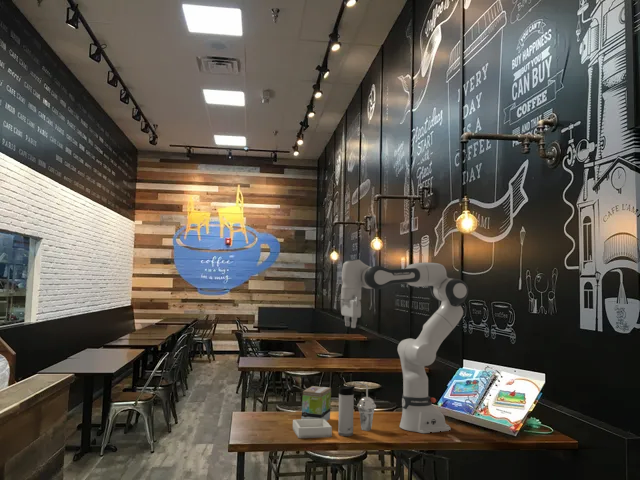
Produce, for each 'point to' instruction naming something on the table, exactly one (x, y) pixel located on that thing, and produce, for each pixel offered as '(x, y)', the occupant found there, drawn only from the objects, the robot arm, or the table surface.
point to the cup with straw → (366, 410)
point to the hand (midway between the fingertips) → (350, 327)
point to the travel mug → (346, 411)
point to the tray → (312, 428)
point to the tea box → (316, 403)
